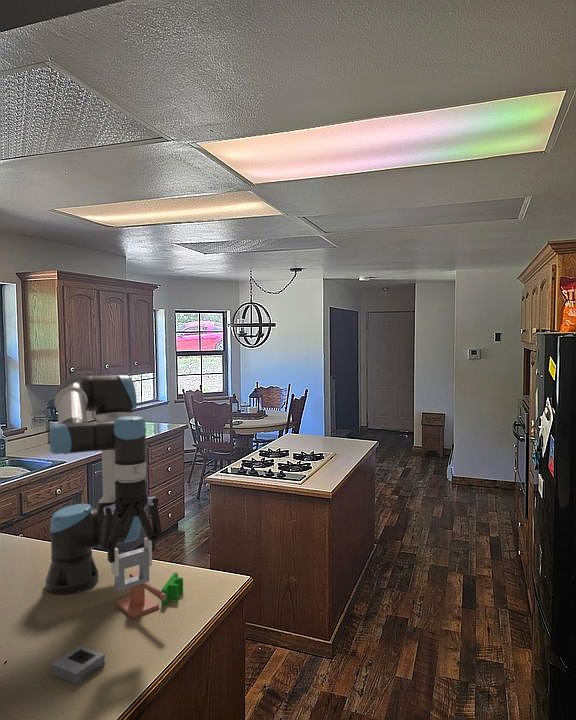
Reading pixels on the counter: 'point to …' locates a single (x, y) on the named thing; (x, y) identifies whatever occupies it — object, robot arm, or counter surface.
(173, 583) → the pipe clamp
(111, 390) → the robot arm
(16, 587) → the counter surface
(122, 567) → the link
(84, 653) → the link
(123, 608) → the hook
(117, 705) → the counter surface
